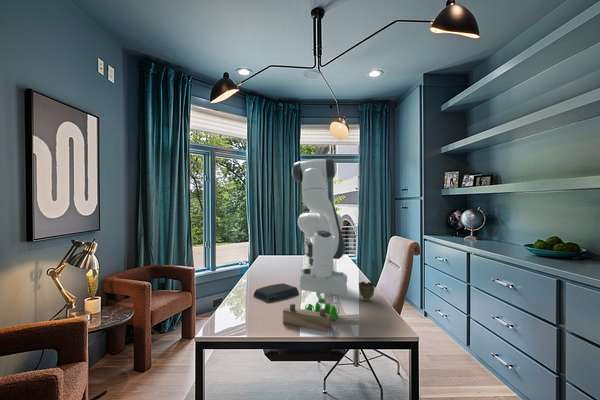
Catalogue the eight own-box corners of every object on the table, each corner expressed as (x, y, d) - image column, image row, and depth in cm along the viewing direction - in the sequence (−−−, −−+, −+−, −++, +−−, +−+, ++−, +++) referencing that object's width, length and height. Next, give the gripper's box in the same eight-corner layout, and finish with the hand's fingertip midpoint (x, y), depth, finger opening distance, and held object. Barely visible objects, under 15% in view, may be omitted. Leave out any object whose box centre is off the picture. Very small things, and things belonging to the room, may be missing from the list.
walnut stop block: (287, 319, 121) (287, 301, 121) (331, 327, 114) (332, 308, 114) (282, 323, 117) (283, 304, 117) (328, 332, 110) (328, 312, 110)
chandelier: (333, 309, 133) (333, 293, 133) (345, 323, 118) (345, 305, 118) (299, 311, 131) (299, 295, 130) (306, 326, 116) (306, 307, 116)
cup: (375, 298, 147) (375, 281, 147) (374, 303, 140) (374, 286, 140) (359, 297, 149) (359, 280, 149) (357, 302, 142) (357, 284, 142)
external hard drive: (251, 297, 150) (252, 288, 150) (283, 289, 162) (283, 281, 162) (267, 304, 140) (267, 295, 140) (300, 295, 153) (300, 287, 153)
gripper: (349, 271, 129) (348, 304, 130) (304, 266, 138) (303, 297, 138) (345, 274, 124) (344, 309, 124) (298, 269, 132) (297, 302, 132)
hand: (322, 303), depth 131 cm, fingers closed
